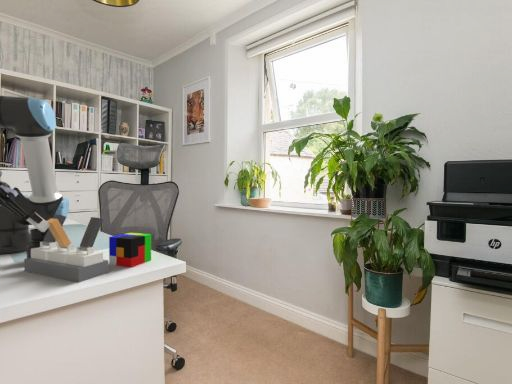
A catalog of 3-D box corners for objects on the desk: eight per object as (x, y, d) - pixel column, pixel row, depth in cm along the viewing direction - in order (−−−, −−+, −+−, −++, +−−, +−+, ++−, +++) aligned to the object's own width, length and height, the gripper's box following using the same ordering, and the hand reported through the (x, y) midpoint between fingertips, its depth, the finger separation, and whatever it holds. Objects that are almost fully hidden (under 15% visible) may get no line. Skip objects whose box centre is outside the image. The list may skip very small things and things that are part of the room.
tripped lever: (66, 245, 94) (50, 218, 89) (73, 246, 93) (57, 218, 88) (61, 249, 92) (44, 221, 87) (67, 250, 91) (51, 222, 86)
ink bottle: (39, 266, 98) (39, 231, 98) (19, 264, 100) (18, 230, 100) (63, 259, 108) (63, 227, 108) (44, 257, 110) (44, 226, 109)
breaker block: (56, 263, 102) (55, 213, 101) (108, 272, 92) (108, 217, 92) (24, 271, 92) (23, 216, 92) (78, 282, 83) (78, 221, 82)
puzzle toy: (109, 264, 101) (109, 237, 101) (130, 258, 110) (130, 232, 110) (131, 267, 98) (131, 239, 97) (151, 260, 107) (151, 234, 107)
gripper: (-54, 181, 70) (23, 236, 86) (-26, 181, 65) (50, 240, 81) (-27, 161, 75) (41, 217, 91) (2, 160, 70) (69, 219, 86)
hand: (46, 228), depth 86 cm, fingers closed
